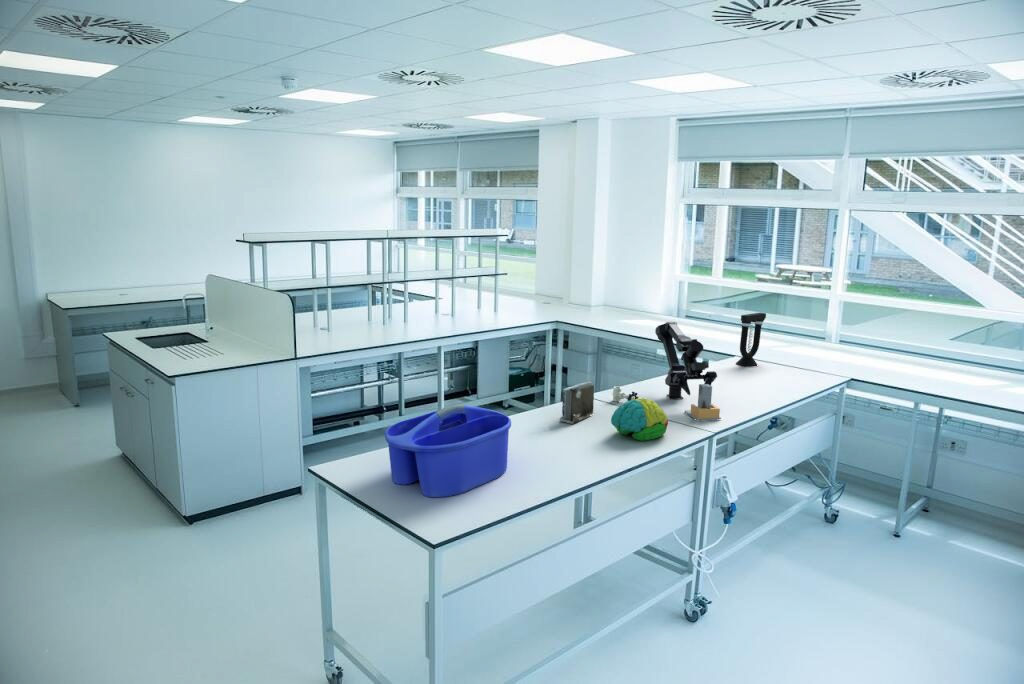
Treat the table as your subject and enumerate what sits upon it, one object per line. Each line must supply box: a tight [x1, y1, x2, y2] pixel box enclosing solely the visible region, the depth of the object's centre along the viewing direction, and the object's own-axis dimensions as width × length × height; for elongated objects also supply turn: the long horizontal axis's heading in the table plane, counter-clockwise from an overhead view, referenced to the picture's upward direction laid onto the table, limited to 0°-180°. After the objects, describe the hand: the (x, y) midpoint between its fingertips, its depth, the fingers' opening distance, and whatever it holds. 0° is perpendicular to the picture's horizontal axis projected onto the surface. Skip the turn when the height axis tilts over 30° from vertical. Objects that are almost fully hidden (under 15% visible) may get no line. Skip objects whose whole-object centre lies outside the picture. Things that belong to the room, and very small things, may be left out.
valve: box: [612, 386, 639, 402], centre depth 298 cm, size 7×7×12 cm
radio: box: [559, 380, 595, 425], centre depth 275 cm, size 23×9×15 cm, turn 140°
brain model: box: [610, 397, 669, 442], centre depth 252 cm, size 24×19×15 cm
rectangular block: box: [697, 383, 713, 409], centre depth 277 cm, size 4×4×13 cm
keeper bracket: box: [684, 403, 722, 421], centre depth 278 cm, size 12×11×7 cm
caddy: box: [384, 404, 512, 498], centre depth 212 cm, size 32×45×23 cm
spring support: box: [735, 312, 767, 367], centre depth 376 cm, size 21×12×30 cm, turn 130°
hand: (699, 394), depth 281 cm, fingers open, 9 cm apart
